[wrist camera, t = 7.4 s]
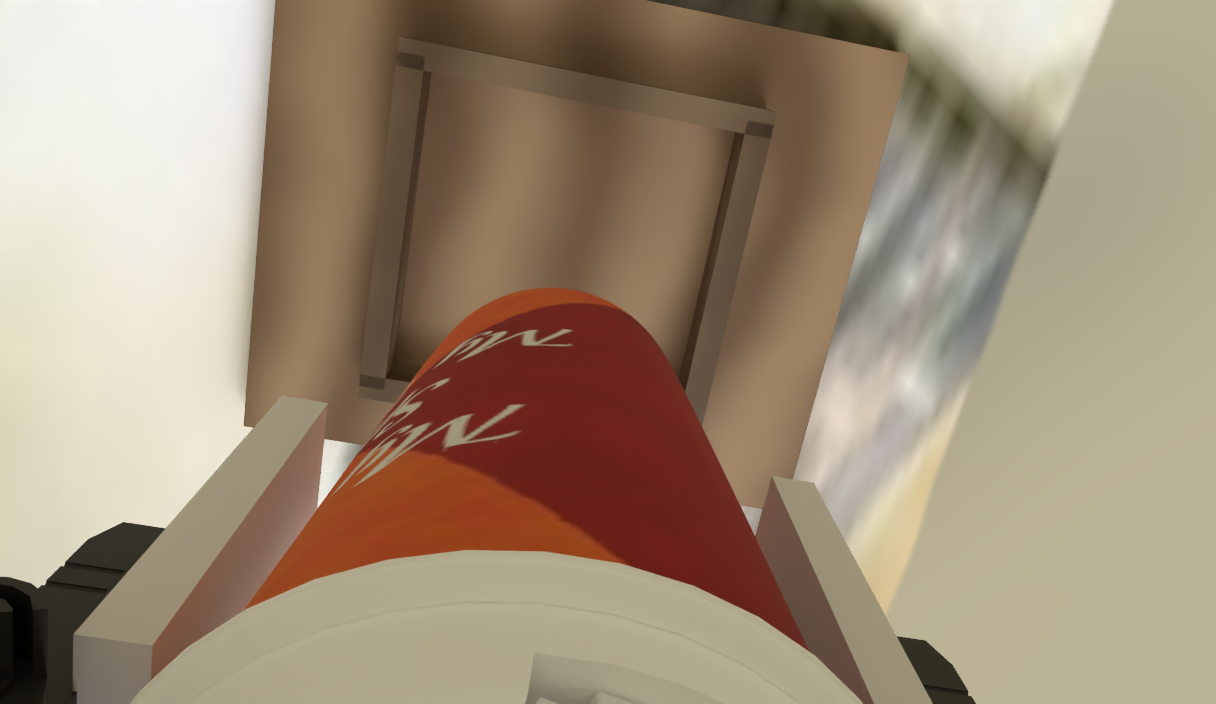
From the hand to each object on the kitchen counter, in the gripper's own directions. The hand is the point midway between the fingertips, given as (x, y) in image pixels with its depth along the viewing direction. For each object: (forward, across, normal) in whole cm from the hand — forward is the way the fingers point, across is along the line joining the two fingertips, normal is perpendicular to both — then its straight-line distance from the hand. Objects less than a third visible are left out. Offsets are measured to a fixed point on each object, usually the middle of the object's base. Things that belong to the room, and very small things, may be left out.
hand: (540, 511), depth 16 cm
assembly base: (+24, 0, 0) cm, 24 cm away
